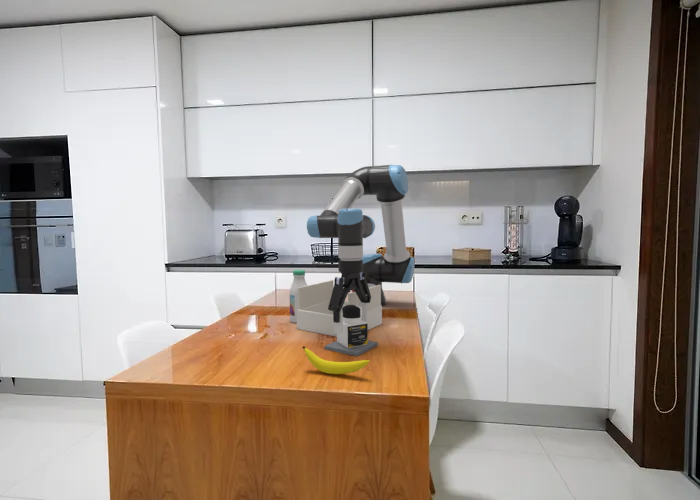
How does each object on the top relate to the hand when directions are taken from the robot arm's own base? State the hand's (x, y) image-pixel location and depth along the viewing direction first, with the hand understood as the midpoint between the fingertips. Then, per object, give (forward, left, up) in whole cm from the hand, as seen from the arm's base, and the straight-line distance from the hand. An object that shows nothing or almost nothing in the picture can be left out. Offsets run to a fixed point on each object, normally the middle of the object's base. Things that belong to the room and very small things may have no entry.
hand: (351, 327), depth 124 cm
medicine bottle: (0, 0, -5) cm, 5 cm away
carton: (-18, -17, -6) cm, 26 cm away
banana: (+20, +9, -7) cm, 23 cm away
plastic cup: (-39, -20, -6) cm, 44 cm away
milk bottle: (-16, -35, -6) cm, 39 cm away
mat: (0, 0, -6) cm, 6 cm away
